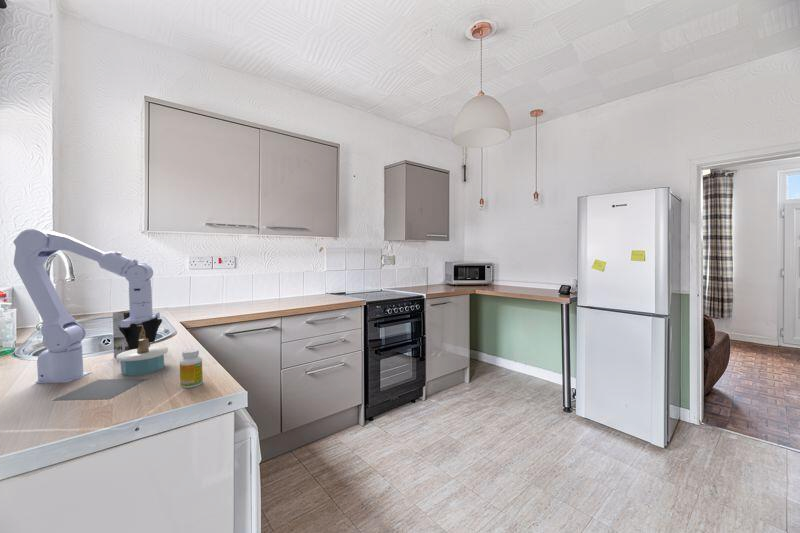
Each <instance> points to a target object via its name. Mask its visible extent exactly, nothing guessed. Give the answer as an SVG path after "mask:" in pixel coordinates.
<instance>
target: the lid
mask: <svg viewBox="0 0 800 533" xmlns="http://www.w3.org/2000/svg"><path fill="white" fill-rule="evenodd" d="M168 352H169V348H168V347H166V346H150V347H149V340H148V339H147V338H145V339H139V346H138V348H137V349H133V350H129V351H125V352H122V353H120V354H118V355H117V356H116V357H115V358H116V360H117V361H119V362H121V361H138V360H145V359H151V358H155V357H158V356H161V355H164V356H165V355H166V354H167V353H168Z"/></svg>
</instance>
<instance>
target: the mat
mask: <svg viewBox="0 0 800 533" xmlns="http://www.w3.org/2000/svg"><path fill="white" fill-rule="evenodd" d="M147 380H148V378H112V379H109V378H105V379H96V380H94V381H91V382H90V383H88V384H86V385H83V386H81V387H78V388H76V389H75V390H72V391H70V392H67V393H65V394H63V395H61V396H59V397H56V398H54V399H53V401H81V400H82V401H83V400H84V401H85V400H86V401H87V400H88V401H89V400H91V401H93V400H94V401H95V400H111V399H113V398H115V397H116V396H119V395H120V394H122V393H125V392H126V391H128V390H131V388H133V387H134V388H135V387H136V386H137V385H139V384H141V383H142V382H144V381H147Z"/></svg>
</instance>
